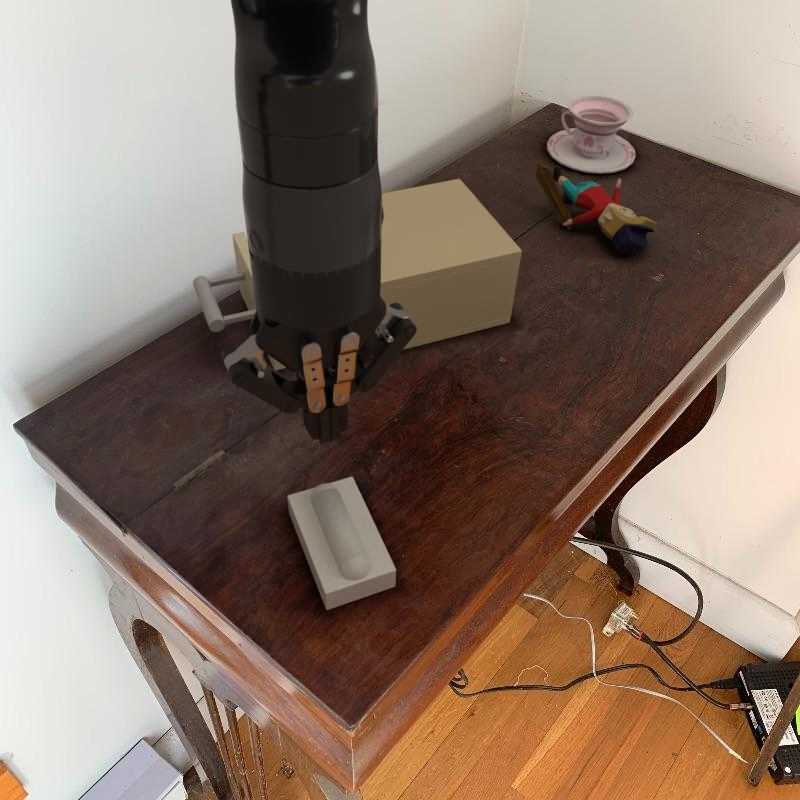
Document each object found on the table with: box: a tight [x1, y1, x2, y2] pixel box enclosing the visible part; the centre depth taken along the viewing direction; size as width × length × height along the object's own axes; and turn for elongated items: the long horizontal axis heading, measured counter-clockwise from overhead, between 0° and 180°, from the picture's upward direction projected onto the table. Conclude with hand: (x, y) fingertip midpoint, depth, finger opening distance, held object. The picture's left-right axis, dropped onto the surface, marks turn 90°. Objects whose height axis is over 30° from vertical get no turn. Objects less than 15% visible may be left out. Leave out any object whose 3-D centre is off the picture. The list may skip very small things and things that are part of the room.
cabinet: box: [370, 178, 523, 359], centre depth 83 cm, size 16×14×9 cm
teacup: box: [546, 95, 637, 175], centre depth 107 cm, size 12×12×6 cm
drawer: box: [192, 231, 287, 371], centre depth 79 cm, size 19×13×7 cm, turn 112°
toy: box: [535, 161, 658, 256], centre depth 94 cm, size 9×6×15 cm
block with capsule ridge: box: [286, 476, 397, 611], centre depth 63 cm, size 10×6×4 cm, turn 22°
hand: (326, 434), depth 57 cm, fingers closed
